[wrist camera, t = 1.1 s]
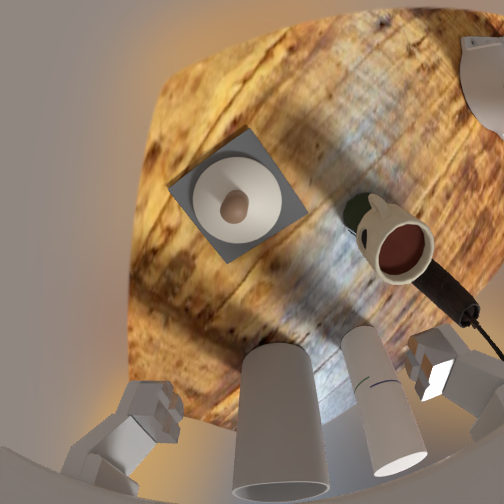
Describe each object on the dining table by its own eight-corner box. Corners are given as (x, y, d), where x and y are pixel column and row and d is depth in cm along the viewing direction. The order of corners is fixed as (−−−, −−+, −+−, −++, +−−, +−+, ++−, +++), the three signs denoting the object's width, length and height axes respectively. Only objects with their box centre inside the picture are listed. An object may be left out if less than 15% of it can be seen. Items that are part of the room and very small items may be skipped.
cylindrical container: (381, 344, 45) (426, 459, 23) (346, 360, 47) (377, 479, 24) (373, 319, 43) (428, 445, 20) (335, 336, 45) (370, 469, 22)
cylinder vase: (230, 350, 46) (214, 485, 24) (300, 331, 44) (320, 474, 21) (256, 390, 51) (253, 504, 28) (317, 375, 49) (335, 493, 26)
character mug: (323, 191, 35) (355, 224, 23) (369, 166, 33) (419, 187, 21) (356, 257, 38) (390, 310, 27) (397, 233, 37) (443, 277, 25)
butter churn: (448, 273, 39) (543, 387, 14) (405, 303, 42) (483, 437, 16) (436, 231, 36) (560, 346, 11) (389, 263, 39) (489, 412, 13)
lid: (247, 139, 32) (245, 140, 27) (297, 210, 35) (303, 223, 31) (177, 190, 35) (165, 200, 30) (228, 255, 38) (224, 272, 34)
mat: (250, 128, 32) (249, 128, 31) (307, 211, 36) (308, 213, 35) (169, 188, 35) (167, 189, 34) (227, 262, 39) (227, 264, 39)
